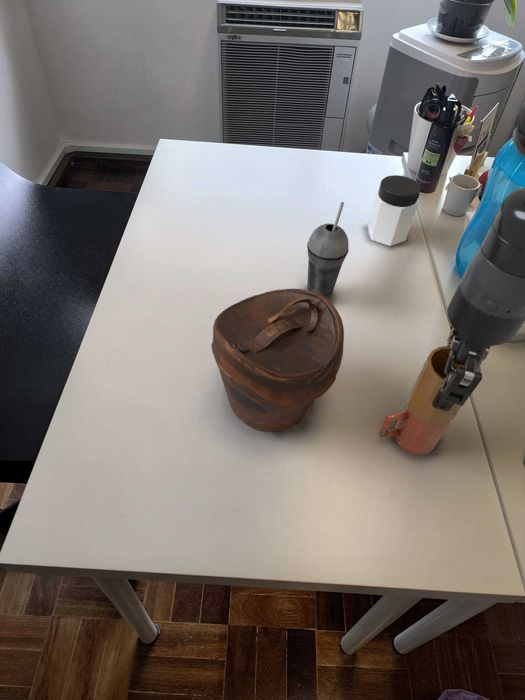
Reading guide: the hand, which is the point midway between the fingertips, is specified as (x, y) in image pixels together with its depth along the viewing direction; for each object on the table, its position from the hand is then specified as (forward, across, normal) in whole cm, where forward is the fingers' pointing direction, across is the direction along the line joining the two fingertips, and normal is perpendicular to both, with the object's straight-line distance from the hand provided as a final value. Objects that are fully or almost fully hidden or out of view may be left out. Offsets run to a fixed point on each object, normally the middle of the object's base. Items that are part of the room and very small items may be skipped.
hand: (443, 385), depth 61 cm
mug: (+13, -1, +1) cm, 13 cm away
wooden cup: (+5, 0, 0) cm, 5 cm away
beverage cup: (+13, +24, +22) cm, 35 cm away
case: (+13, -1, +22) cm, 26 cm away
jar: (+13, +50, +14) cm, 53 cm away
